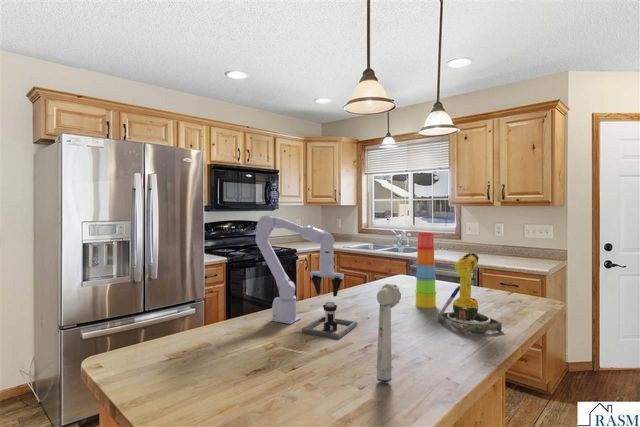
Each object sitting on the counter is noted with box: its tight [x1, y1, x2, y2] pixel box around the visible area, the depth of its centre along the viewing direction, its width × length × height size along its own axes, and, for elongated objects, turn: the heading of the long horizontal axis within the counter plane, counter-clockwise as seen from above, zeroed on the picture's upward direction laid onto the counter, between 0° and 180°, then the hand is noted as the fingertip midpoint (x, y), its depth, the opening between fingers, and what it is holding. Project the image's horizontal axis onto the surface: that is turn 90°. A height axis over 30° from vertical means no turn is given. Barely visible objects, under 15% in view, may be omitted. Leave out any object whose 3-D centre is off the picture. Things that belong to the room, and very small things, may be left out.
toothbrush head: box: [375, 283, 402, 383], centre depth 96 cm, size 5×7×25 cm
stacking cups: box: [414, 232, 438, 309], centre depth 167 cm, size 10×10×35 cm
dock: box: [301, 316, 358, 340], centre depth 137 cm, size 15×17×2 cm
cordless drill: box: [437, 252, 503, 335], centre depth 140 cm, size 18×19×28 cm
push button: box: [319, 301, 338, 332], centre depth 136 cm, size 7×5×10 cm
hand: (326, 295), depth 147 cm, fingers open, 7 cm apart
